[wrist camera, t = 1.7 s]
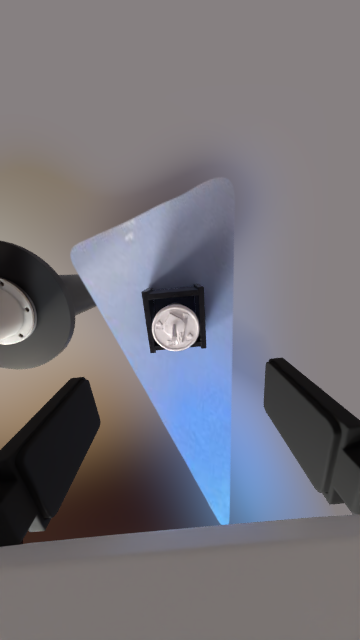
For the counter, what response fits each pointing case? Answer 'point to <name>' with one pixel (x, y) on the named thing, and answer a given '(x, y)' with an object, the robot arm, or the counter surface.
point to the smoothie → (175, 327)
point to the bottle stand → (152, 294)
